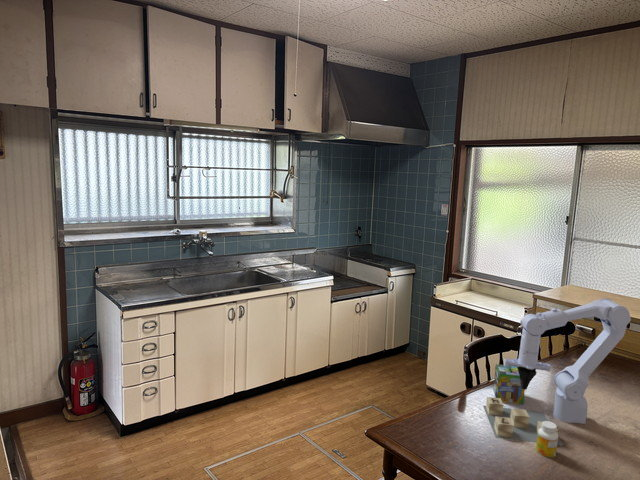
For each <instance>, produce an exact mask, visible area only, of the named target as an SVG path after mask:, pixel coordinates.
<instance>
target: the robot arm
mask: <svg viewBox="0 0 640 480" xmlns="http://www.w3.org/2000/svg"><path fill="white" fill-rule="evenodd" d="M591 317H594V318H597V319H600V321H601V324H602V328H603V329H602V331H601V332H600V333H599V335H597V337H596V338H595V339H594V340H593V341H592V342H591V344H590V345H589V346H588V347H587V349H586V350H585V351H584V352H583V353H582V354H581V355H580V357H579V358H578V359H577V360H576V361H575V362H574V364H573V365H569V366H565V368H564V369H563V370H561V371H560V370H559V371H558V372H557V373H556V374H555V375H554V377H553V383H554V384H555V386H556V390H555V396H554V404H553V411H552V416H553V417H554V419H557V420H558V421H560V422H563V423H569V424H576V423H577V424H584V425H585V424H586V423H587V422H586V421H587V416H588V401H587V398H586V396H585V393H586V389H587V388H588V387H589V386H590V384H589V377H590V375H591V374H593V372H594V371H595V370H596V369H597V368H598V367H599V365H601V363H602V362H603V361H604V359H605V358H606V357H607V356H608V355H609V354H610V353H611V352H612V351H613V349H615V347H616V346H617V345H618V344H619V342H620V341H621V340H622V338H624V336H625V333H626V330H627V326H628V325H629V323H630V322H631V320H632V318H631V314H630V311H629V309H628V308H627V307H626V306H623V305H621V304H618V303H617V302H615V301H613V300H612V299H609V298H600V299H595V300H593V301H592V302H589V303H585V304H582V305H579V306H576V307H573V308H569V309H566V310H562V309H560V308H555V307H551V308H550V310H547V311H544V312H536V313H535V314H533V313H527V314H525V315H524V316H523V317H522V319H521V320H520V321H519V322H520V326H521V327H522V330H521V331H522V332H521V338H520V345H519V350H518V351H519V352H518V353H519V354H518V358H510V359H509V358H504V359H503V365H504V366H505V367H508V366H512V367H517V369H518V372H519V375H520V381H521V388H522V389H525V390H528V387H529V385H530V383H531V381H533V379H534V377H535V376H536V375H537V370H539V371H540V370H541V371H546V372H551V369H552V366H551V364H549V363H545V362H540V361H538V357H539V351H540V350H539V349H540V343H541V335H543V334H544V333H545V332H546V331H548V330H552V329H556V328H560V327H565V326H566V325H567V323H568V322H569V321H571V322H572V321H575V320H580V319H584V318H585V319H586V318H591Z"/></svg>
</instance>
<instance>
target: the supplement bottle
mask: <svg viewBox="0 0 640 480" xmlns="http://www.w3.org/2000/svg"><path fill="white" fill-rule="evenodd" d="M557 427H558V426H557V424H555V423H554V422H552V421H549V420H548V421H543V422H542V425H541V428H540V429H539V430H538V437H537V443H536V446H535V451H536V452H537V453H538V454H539V455H541V456H543V457H545V458H555V457H556V456H557V450H558V445H557V443H558V437H559V434H557V432H556V430H558V428H557Z"/></svg>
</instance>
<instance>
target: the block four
mask: <svg viewBox="0 0 640 480" xmlns="http://www.w3.org/2000/svg"><path fill="white" fill-rule="evenodd" d="M485 406H486V409H487V412H488V414H491V415H500V416H502V415H503V408H504V406H505V404H504V402H502V401H501V398H496V397H490V396H487V397H486V403H485Z"/></svg>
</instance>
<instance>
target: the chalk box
mask: <svg viewBox="0 0 640 480" xmlns="http://www.w3.org/2000/svg"><path fill="white" fill-rule="evenodd" d="M494 367H495V368H494V370H495V371H494V379H493V380H494V381H493V382H494V383H493V388H492V389H493V394H494V396H495V397H494V398H501V401H502V403H510V404H518V405H524V403H525V402H524V401H525V389H522V388H521V381H520V375H519V372H518V369H517V367H512V366H508V367H505V366H504V364H495V366H494Z"/></svg>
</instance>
